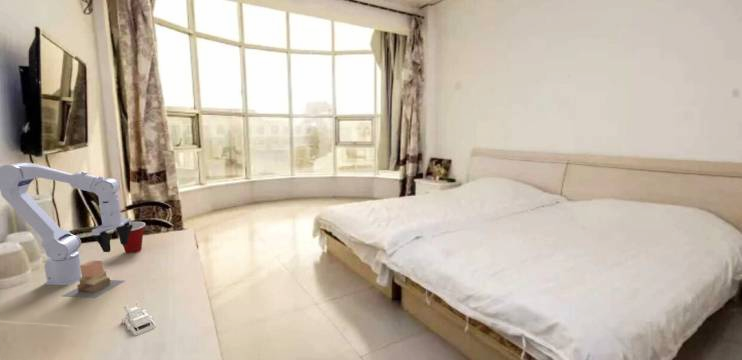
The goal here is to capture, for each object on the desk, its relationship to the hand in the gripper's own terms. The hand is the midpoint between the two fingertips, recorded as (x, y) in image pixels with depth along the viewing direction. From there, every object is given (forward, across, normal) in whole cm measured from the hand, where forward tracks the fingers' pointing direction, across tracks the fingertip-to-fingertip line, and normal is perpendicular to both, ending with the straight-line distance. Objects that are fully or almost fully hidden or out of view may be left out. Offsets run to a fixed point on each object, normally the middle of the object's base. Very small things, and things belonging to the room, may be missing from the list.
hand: (115, 247), depth 124 cm
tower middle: (+8, -11, -1) cm, 13 cm away
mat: (+10, -11, -1) cm, 15 cm away
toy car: (+11, -28, -31) cm, 43 cm away
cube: (+5, -11, -1) cm, 12 cm away
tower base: (+10, -11, -1) cm, 15 cm away
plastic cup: (+11, +22, +13) cm, 28 cm away
